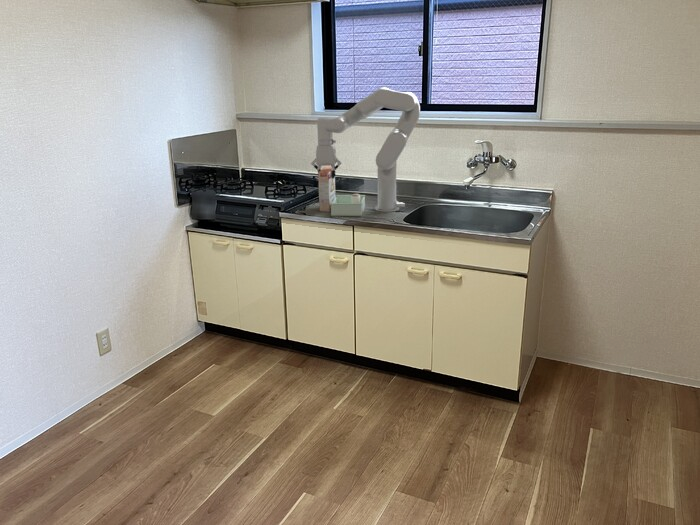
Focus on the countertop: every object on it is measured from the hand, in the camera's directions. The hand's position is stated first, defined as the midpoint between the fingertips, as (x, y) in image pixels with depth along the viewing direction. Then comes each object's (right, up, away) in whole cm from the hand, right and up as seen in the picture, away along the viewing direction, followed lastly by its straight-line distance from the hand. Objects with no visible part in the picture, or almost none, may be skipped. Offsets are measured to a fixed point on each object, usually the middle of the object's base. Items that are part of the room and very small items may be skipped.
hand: (326, 177), depth 293 cm
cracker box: (0, -16, +6) cm, 17 cm away
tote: (+11, -18, -1) cm, 21 cm away
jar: (+15, -17, -2) cm, 23 cm away
